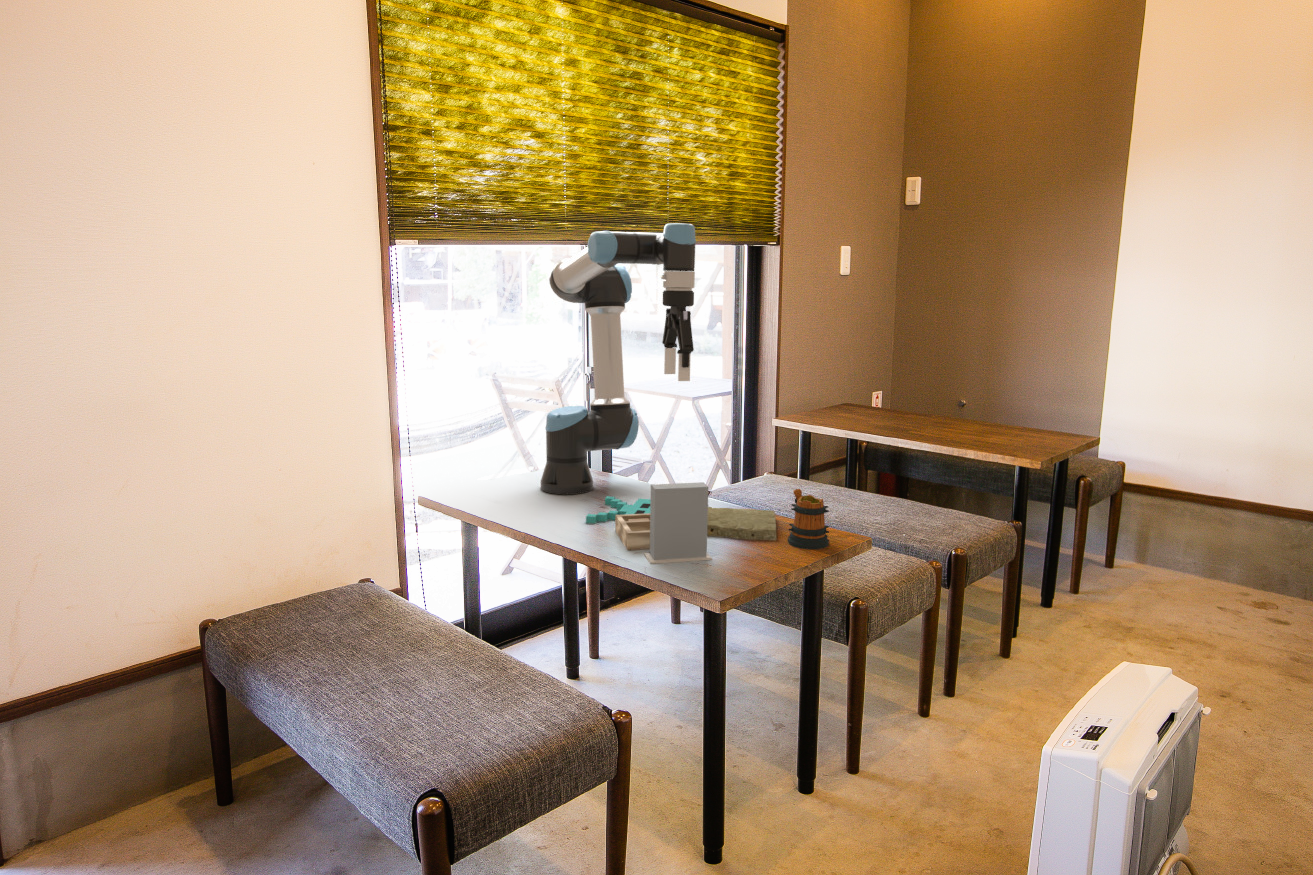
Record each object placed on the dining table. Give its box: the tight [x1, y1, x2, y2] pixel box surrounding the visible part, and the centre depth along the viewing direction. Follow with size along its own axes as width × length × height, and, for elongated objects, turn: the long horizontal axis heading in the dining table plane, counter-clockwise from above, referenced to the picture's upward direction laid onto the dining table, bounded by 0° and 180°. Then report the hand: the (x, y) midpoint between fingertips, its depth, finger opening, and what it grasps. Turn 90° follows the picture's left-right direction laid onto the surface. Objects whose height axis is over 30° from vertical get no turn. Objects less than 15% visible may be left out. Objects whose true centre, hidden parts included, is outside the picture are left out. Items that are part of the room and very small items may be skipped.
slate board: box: [649, 481, 709, 560], centre depth 193 cm, size 4×12×16 cm, turn 103°
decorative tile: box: [707, 506, 778, 541], centre depth 218 cm, size 19×20×4 cm
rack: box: [614, 513, 650, 551], centre depth 208 cm, size 15×18×4 cm
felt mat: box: [643, 552, 713, 565], centre depth 195 cm, size 6×14×1 cm, turn 103°
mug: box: [787, 488, 830, 551], centre depth 207 cm, size 13×10×12 cm
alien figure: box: [585, 495, 651, 524], centre depth 227 cm, size 20×2×20 cm
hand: (676, 377), depth 215 cm, fingers open, 13 cm apart
